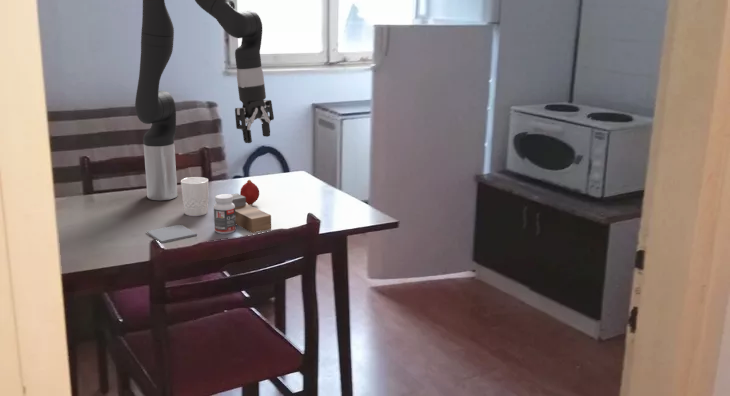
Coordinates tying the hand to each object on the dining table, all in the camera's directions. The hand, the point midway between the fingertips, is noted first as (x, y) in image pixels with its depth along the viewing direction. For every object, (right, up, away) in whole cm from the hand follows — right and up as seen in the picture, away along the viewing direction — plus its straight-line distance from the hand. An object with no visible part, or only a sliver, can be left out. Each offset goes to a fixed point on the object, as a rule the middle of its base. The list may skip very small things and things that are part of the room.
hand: (257, 139), depth 215 cm
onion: (-4, -19, +13) cm, 24 cm away
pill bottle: (-7, -26, -12) cm, 30 cm away
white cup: (-19, -22, +4) cm, 29 cm away
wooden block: (-3, -24, -4) cm, 24 cm away
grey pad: (-21, -27, -15) cm, 37 cm away
